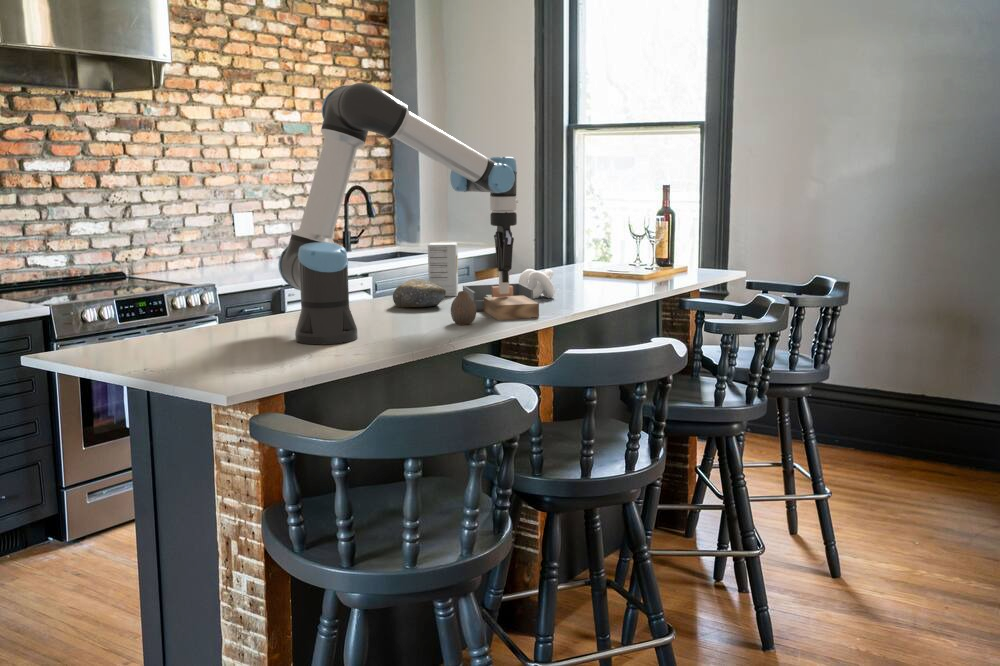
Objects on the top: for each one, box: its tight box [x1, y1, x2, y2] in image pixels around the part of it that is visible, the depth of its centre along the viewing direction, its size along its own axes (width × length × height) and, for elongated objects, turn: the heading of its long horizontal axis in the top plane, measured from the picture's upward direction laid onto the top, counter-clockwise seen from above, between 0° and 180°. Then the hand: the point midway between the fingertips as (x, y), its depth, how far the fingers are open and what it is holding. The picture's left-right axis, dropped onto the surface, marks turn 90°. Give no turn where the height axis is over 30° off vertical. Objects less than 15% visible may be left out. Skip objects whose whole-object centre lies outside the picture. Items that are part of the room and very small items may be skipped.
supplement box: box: [427, 241, 459, 297], centre depth 299 cm, size 10×9×17 cm
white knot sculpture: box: [518, 268, 556, 300], centre depth 290 cm, size 11×12×9 cm
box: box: [462, 282, 534, 312], centre depth 275 cm, size 18×15×6 cm
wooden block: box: [484, 295, 540, 321], centre depth 260 cm, size 12×16×4 cm
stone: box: [392, 278, 446, 308], centre depth 275 cm, size 14×19×8 cm
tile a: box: [491, 286, 513, 297], centre depth 270 cm, size 6×6×2 cm
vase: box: [450, 290, 477, 326], centre depth 245 cm, size 7×7×9 cm
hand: (504, 293), depth 266 cm, fingers closed
